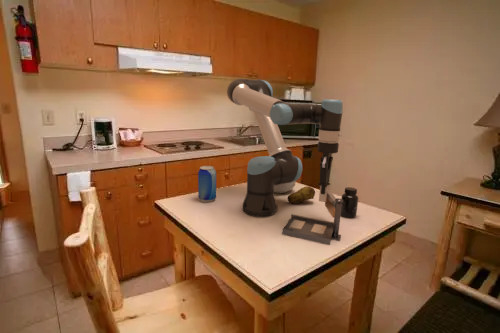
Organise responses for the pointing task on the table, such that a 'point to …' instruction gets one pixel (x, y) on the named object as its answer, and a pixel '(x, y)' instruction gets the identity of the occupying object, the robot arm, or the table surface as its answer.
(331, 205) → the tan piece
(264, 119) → the robot arm
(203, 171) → the beer can
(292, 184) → the cereal bowl
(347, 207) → the supplement bottle
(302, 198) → the potato
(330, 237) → the metal plate with cutouts
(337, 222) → the post
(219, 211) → the table surface
